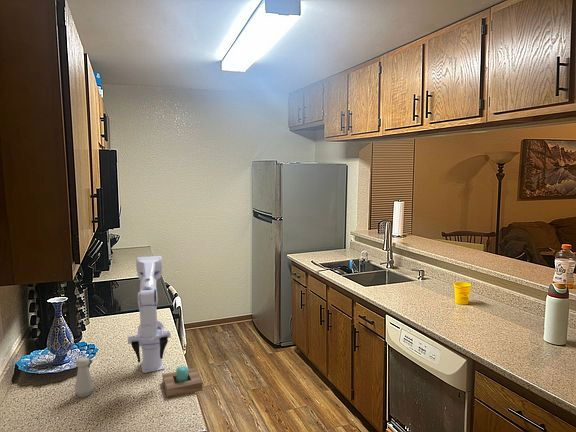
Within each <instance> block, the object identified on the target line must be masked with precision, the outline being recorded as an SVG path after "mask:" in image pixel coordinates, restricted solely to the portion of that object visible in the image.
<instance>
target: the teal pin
mask: <svg viewBox="0 0 576 432" xmlns="http://www.w3.org/2000/svg"><path fill="white" fill-rule="evenodd" d="M188 369H189V367H187V366H179V367H177V368H176V369H175V370H176V371H175V372H176V383H179V382H185V381H188Z"/></svg>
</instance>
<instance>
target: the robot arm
mask: <svg viewBox="0 0 576 432" xmlns="http://www.w3.org/2000/svg"><path fill="white" fill-rule="evenodd" d="M135 263H136V272H137V273H136V274H137V277H138V279H139V280H140V282H139V283H140V284H139V291H138V293H137V305H138V311H139V323H140V324H139V325H138V328H137V334H136V335H132V336H128V337H127V344H128V345H131V347H132V349H133V351H134V353H135V355H136V359H137V362H138V363H140V368H141V371H142V374H145V373H150V372H156V371H162V370H165V366H164V364H163V357H164V353H165V349H166V346H167V345H168V343H169V339H170V338H171V330H167V331H166V330H165V327H164V324H163V322H161V321H160V320H158V315H157V314H158V313H157V312H158V309H157V308H158V307H157V305H158V304H159V303H158V299H159V298H158V291H157V282H158V280H159V279H160V278H162V275H163V258H162V255H156V256H155V255H154V256H152V255H151V256H141V257H139V256H137V258H136V261H135ZM140 348H141V355H142V356H140ZM141 357H142V361H141Z"/></svg>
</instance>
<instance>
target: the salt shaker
mask: <svg viewBox="0 0 576 432" xmlns="http://www.w3.org/2000/svg"><path fill="white" fill-rule="evenodd" d="M89 365H90V358H89V357H86V356H82V357H81V356H80V357H79V358H77V359H76V361H75V367H77V372H76V373H77V374H76V380H75V385H74V386H75V387H74V391H75V393H76V395H77V397H78V398H86V397H90V395H91V394H92V392H93V390H94V383H93V379H92V376H91V371H90V368H89Z"/></svg>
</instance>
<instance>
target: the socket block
mask: <svg viewBox="0 0 576 432" xmlns="http://www.w3.org/2000/svg"><path fill="white" fill-rule="evenodd" d="M162 384H163V388H164V390H165V394H166V398H167V399H168V398H171V397H178V396H183V395H188V394H192V393H193V394H194V393H196V392H197V393H198V392H203V381H202V379H201V377H200V375H199V373H198V371H197V369H196V368H190V369H189V368H188V381H185V382H179V383H176V371H172V372H167V373H163V374H162Z"/></svg>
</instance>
